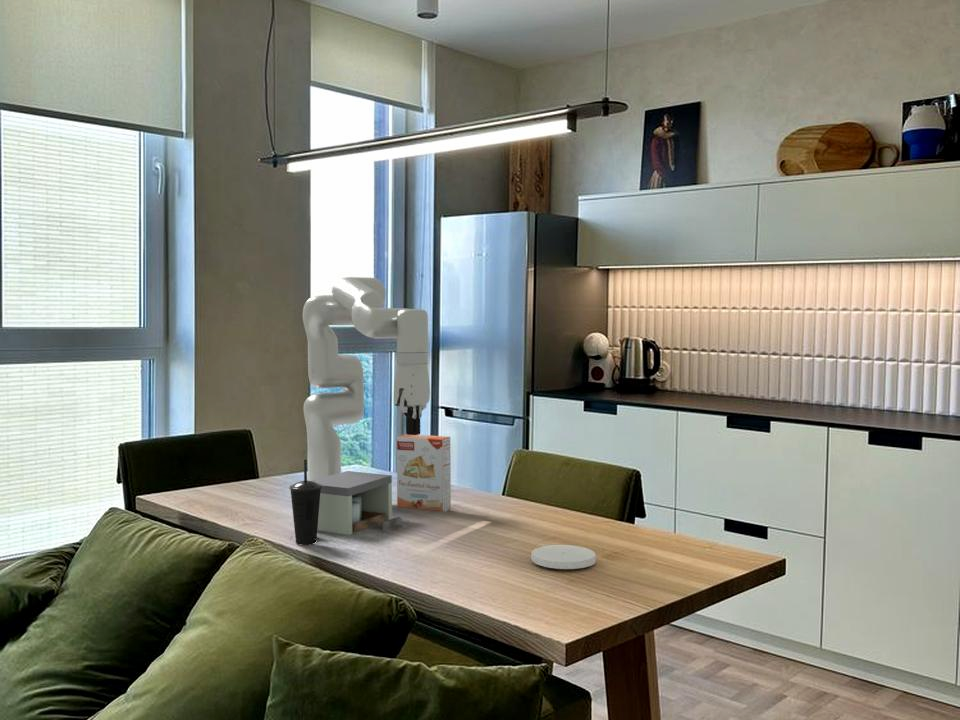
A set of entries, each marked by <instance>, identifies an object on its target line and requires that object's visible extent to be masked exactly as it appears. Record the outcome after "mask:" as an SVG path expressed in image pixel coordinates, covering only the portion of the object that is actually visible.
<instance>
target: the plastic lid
mask: <svg viewBox="0 0 960 720" xmlns="http://www.w3.org/2000/svg"><path fill="white" fill-rule="evenodd" d="M530 556H531V558H530V559H531V561H532V563H534V564H535V565H537V566H542V567H544V568H550V569H555V570H557V569H558V570H575V569H577V570H578V569H584V568H588V567H591V566H593V565H595V563H596V562H597V561H596V556H597V555H596V552H595V551H594V550H592V549H590V548H587V547H582V546H578V545H569V544H568V545H567V544H553V545H552V544H551V545H544V546H539V547H536V548H534V549H532V550H531V555H530Z"/></svg>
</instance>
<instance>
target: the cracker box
mask: <svg viewBox="0 0 960 720" xmlns="http://www.w3.org/2000/svg"><path fill="white" fill-rule="evenodd" d="M451 460H452V459H451V437H450V436H446V435H445V436H442V435H428V434H419V435H407V434H406V433H405V434H400V435H398V436H396V475H397V476H396V494H397V495H396V497H397V498H396V500H397V501H396V505H397V507H399V508H406V509H407V508H408V509H419V510H430V511H440V512H447V513H448V512H450V511H451V507H452V505H451V503H452V502H451V501H452V500H451V498H452V494H451V492H452V491H451V489H452V488H451V485H452V484H451V478H452V477H451V475H452V473H451V469H452V468H451V467H452V466H451V464H452V463H451Z"/></svg>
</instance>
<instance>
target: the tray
mask: <svg viewBox="0 0 960 720" xmlns="http://www.w3.org/2000/svg"><path fill="white" fill-rule="evenodd" d="M402 519H403V517H402V516H395V517H392V519H390V520H386V513H378V512H370V511H362V520H361V521H360V522H358V523H355V524H352V533H357V532H360V531H362V530H364V529H367V528H370V529H375V530H377V529H378V530H382V532H383V533H386V534H387V533H388V532H391V531H394V530H398V529H399V528H401V527H403V524H402V522H403V520H402Z"/></svg>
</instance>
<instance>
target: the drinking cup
mask: <svg viewBox="0 0 960 720" xmlns="http://www.w3.org/2000/svg"><path fill="white" fill-rule="evenodd" d="M321 488H322V485H321V484H318V483H316V482H313V481H308V459H303V480H300V481H297V482H295V483H293V484H291V485H290V486H289V488H288V489H289V490H290V498H291V507H292V517H293V527H294V538H295V544H296V543H297V544H296V545H298V544H302V545H301V546H309V544H311V545H314V544H313V543H315V542H316V543H317V538H318V530H317V529H318V516H319V504H320V492H321ZM316 543H315V544H316Z"/></svg>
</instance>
